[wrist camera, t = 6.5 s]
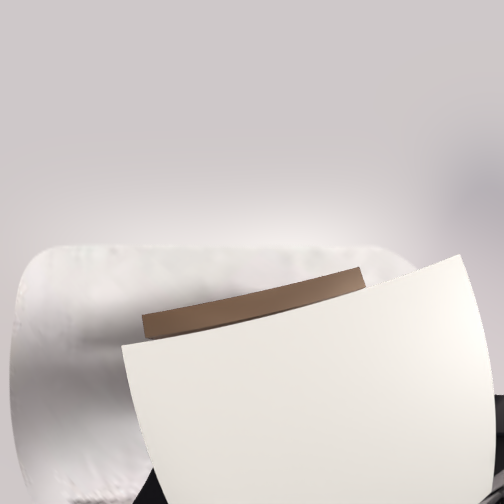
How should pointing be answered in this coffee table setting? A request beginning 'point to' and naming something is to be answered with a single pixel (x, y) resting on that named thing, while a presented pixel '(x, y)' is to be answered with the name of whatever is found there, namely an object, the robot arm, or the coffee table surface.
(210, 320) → the stand
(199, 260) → the coffee table surface
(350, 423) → the white tall block
